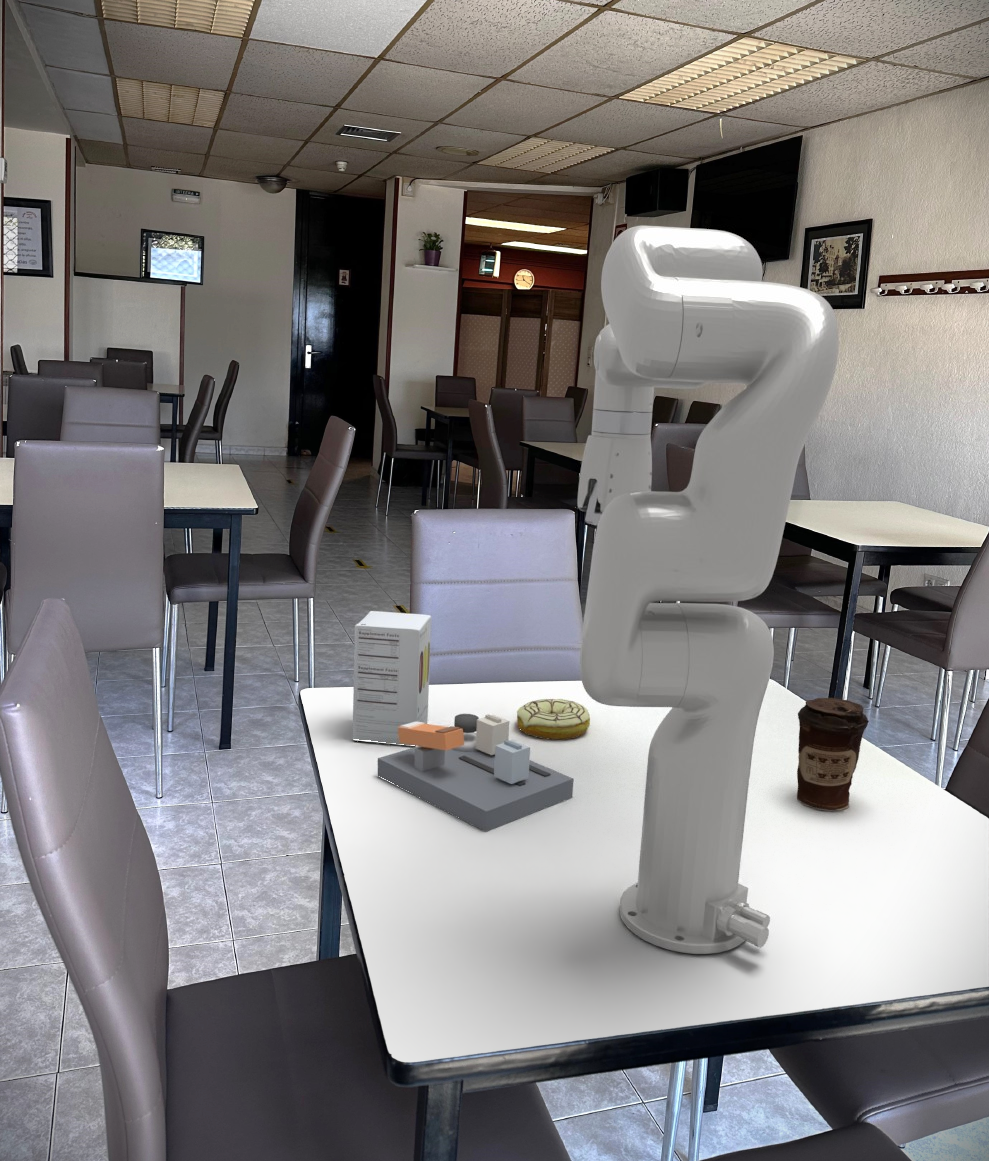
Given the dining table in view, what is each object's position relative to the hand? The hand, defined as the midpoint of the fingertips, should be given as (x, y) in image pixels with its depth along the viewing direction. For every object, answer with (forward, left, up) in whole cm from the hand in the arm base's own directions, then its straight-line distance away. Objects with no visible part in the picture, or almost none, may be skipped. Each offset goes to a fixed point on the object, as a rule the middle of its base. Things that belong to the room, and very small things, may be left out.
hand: (611, 565), depth 134 cm
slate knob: (-2, +19, -24) cm, 31 cm away
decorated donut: (+12, -4, -28) cm, 30 cm away
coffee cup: (-27, -12, -27) cm, 40 cm away
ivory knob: (+6, +14, -24) cm, 29 cm away
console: (+4, +20, -27) cm, 34 cm away
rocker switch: (+8, +24, -21) cm, 33 cm away
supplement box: (+25, +16, -27) cm, 40 cm away
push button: (+10, +15, -22) cm, 29 cm away
